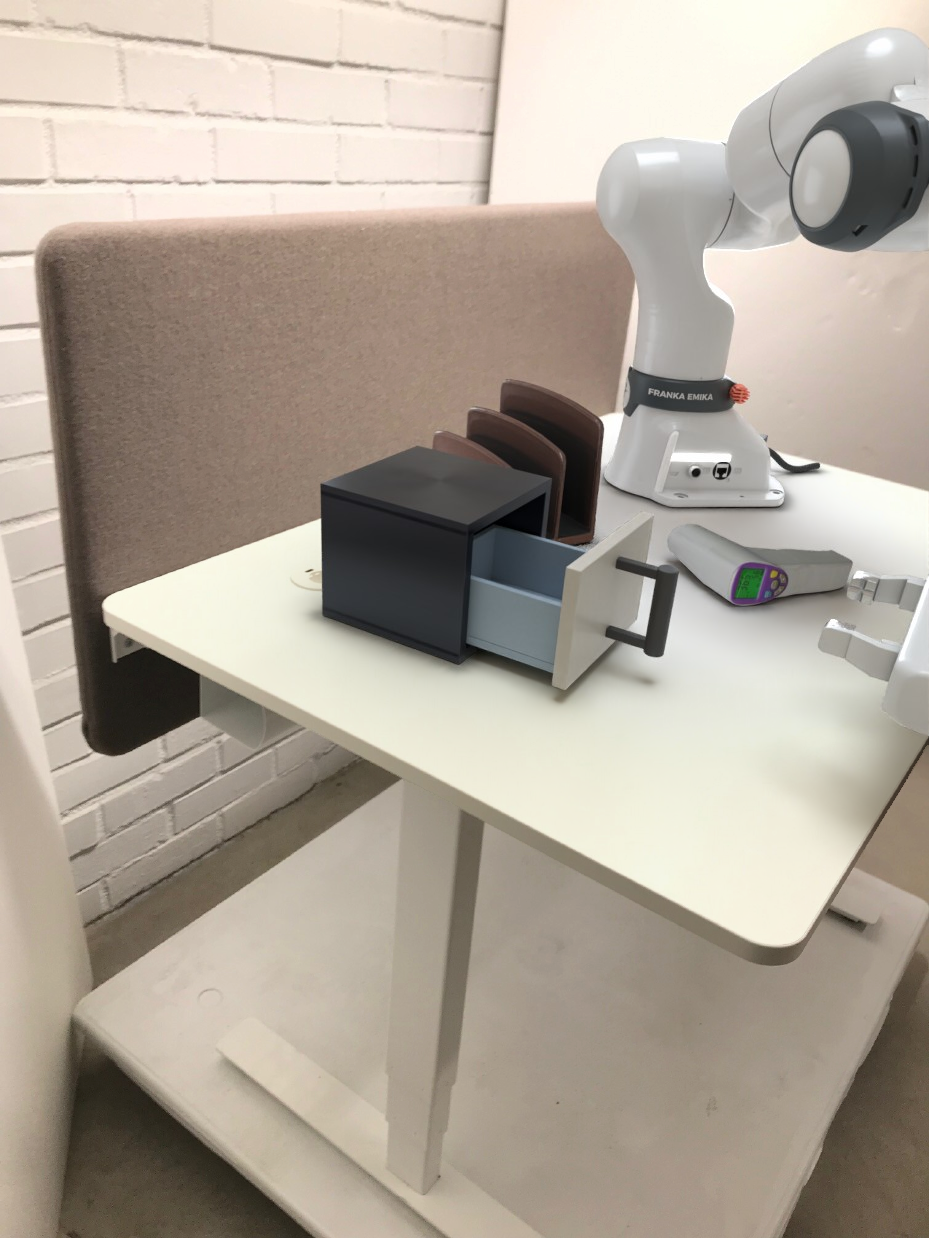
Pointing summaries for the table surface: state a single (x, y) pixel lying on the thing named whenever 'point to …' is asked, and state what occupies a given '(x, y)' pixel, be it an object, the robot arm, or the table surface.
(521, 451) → the letter holder
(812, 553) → the infrared thermometer
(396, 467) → the cabinet
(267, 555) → the table surface
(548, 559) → the open pull-out drawer
